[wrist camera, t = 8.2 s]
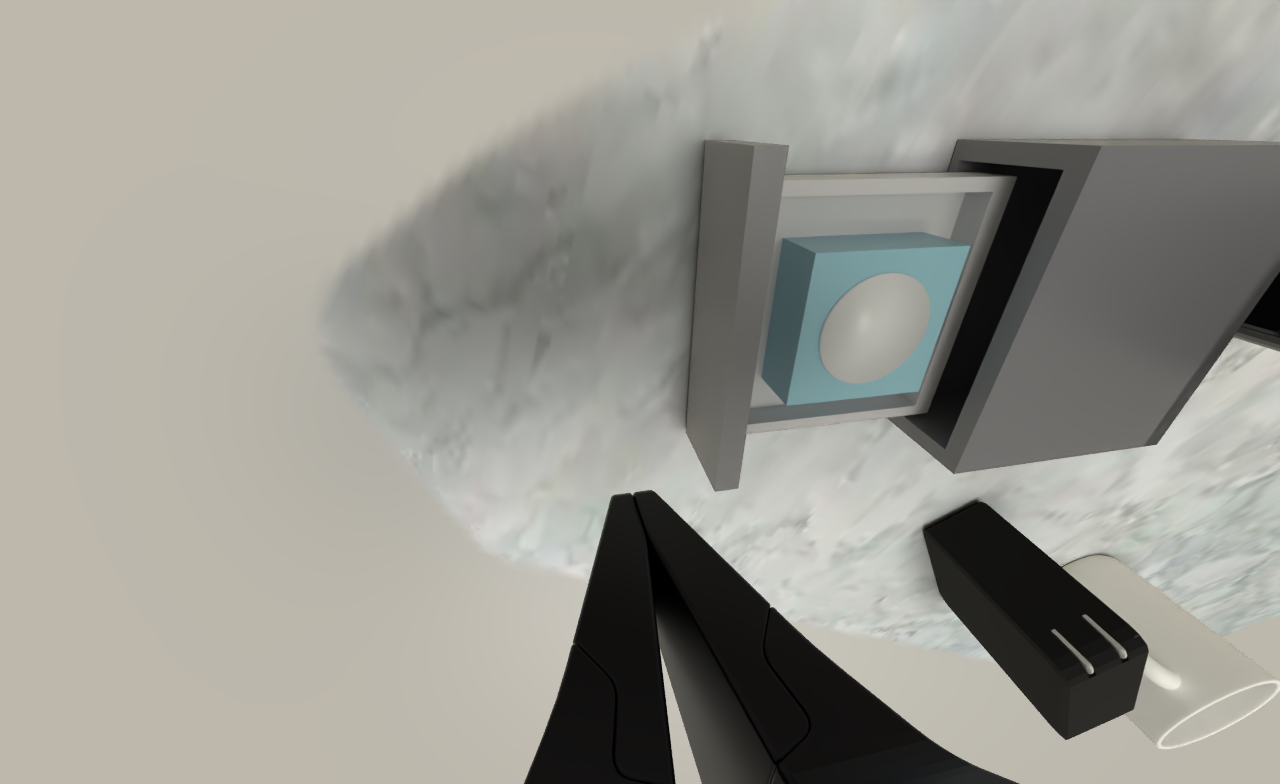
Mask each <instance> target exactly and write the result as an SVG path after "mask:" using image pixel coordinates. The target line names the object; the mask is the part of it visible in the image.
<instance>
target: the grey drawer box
mask: <svg viewBox="0 0 1280 784" xmlns="http://www.w3.org/2000/svg"><path fill="white" fill-rule="evenodd" d="M948 172H984V173H992V174H1001V175H1010V176H1017V179H1016V182H1015V184H1014V187H1013V189H1012V192H1011V195H1010V197H1009V200H1008V203H1007V205H1006V208H1005V210H1004V213H1003V216H1002V218H1001V221H1000V224H999V226H998V229H997V231H996V234H995V237H994V239H993V242H992V245H991V247H990V250H989V252H988V255H987V258H986V260H985V263H984V266H983V268H982V271H981V273H980V276H979V279H978V281H977V284H976V287H975V289H974V292H973V294H972V297H971V300H970V302H969V305H968V308H967V310H966V313H965V315H964V318H963V321H962V323H961V326H960V329H959V331H958V334H957V336H956V339H955V342H954V344H953V347H952V350H951V352H950V355H949V357H948V360H947V363H946V365H945V368H944V370H943V373H942V376H941V378H940V381H939V384H938V386H937V389H936V391H935V394H934V397H933V399H932V402H931V405H930V407H929V410H928V412H927V413H922V414H914V415H905V416H897V417H888V419H889V420H890V421H891V422H893V423H894V424H895V425H896V426H897V427H899V428H900V429H901V430H902V431H903V432H904V433H906V434H907V435H908V436H909V437H910V438H912V439H913V440H914V441H915V442H916V443H918V444H919V445H920V446H921V447H922V448H924V449H925V450H926V451H927V452H928V453H929V454H931V455H932V456H933V457H934V458H935V459H937V460H938V461H939V462H940V463H941V464H943V465H944V466H945V467H946V468H947V469H949V470H950V471H951V472H952V473H953V474H956V473H963V472H970V471H977V470H984V469H991V468H998V467H1005V466H1012V465H1019V464H1025V463H1032V462H1039V461H1046V460H1053V459H1060V458H1067V457H1074V456H1081V455H1088V454H1095V453H1101V452H1108V451H1115V450H1122V449H1129V448H1136V447H1143V446H1150V445H1157V443H1158V442H1159V441H1160V439H1161V438H1162V436H1163V435H1164V434H1165V432H1166V431H1167V429H1168V428H1169V427H1170V425H1171V424H1172V422H1173V421H1174V419H1175V418H1176V417H1177V415H1178V414H1179V412H1180V411H1181V410H1182V408H1183V407H1184V405H1185V404H1186V403H1187V401H1188V400H1189V398H1190V397H1191V396H1192V394H1193V393H1194V391H1195V390H1196V389H1197V387H1198V386H1199V384H1200V383H1201V381H1202V380H1203V379H1204V377H1205V376H1206V374H1207V373H1208V372H1209V370H1210V369H1211V367H1212V366H1213V365H1214V363H1215V362H1216V360H1217V359H1218V358H1219V356H1220V355H1221V353H1222V352H1223V351H1224V349H1225V348H1226V346H1227V345H1228V344H1229V342H1230V341H1231V339H1232V338H1233V336H1234V335H1235V334H1236V332H1237V331H1238V329H1239V328H1240V327H1241V325H1242V324H1243V322H1244V321H1245V320H1246V318H1247V317H1248V315H1249V314H1250V313H1251V311H1252V310H1253V308H1254V307H1255V306H1256V304H1257V303H1258V301H1259V300H1260V298H1261V297H1262V296H1263V294H1264V293H1265V291H1266V290H1267V289H1268V287H1269V286H1270V284H1271V283H1272V282H1273V280H1274V279H1275V277H1276V276H1277V275H1278V273H1279V272H1280V142H1265V141H1228V140H1192V139H977V140H958V141H957V144H956V147H955V151H954V154H953V157H952V160H951V164H950V167H949V170H948Z"/></svg>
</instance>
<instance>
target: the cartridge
mask: <svg viewBox="0 0 1280 784" xmlns="http://www.w3.org/2000/svg"><path fill="white" fill-rule="evenodd" d="M969 249H970V245H967V244H963V243H960V242H956V241H953V240H949V239H946V238H942V237H939V236H935V235H932V234H928V233H925V232H908V233H885V234H861V235H838V236H814V237H791V238H783V241H782V247H781V254H780V260H779V267H778V273H777V279H776V286H775V292H774V299H773V305H772V312H771V318H770V325H769V331H768V337H767V344H766V350H765V357H764V363H763V370H762V376H761V378H762V379H763V380H764V381H765V382H766V384H767V385H768V386H769V387H770V388H771V389H772V390H773V391H774V393H775V394H776V395H777V396H778V397H779V398H780V399H781V400H782V402H783V403H784V404H785V405H786V406H790V405H800V404H809V403H818V402H827V401H836V400H845V399H855V398H864V397H873V396H882V395H891V394H900V393H909V392H919V389H920V386H921V383H922V380H923V378H924V375H925V372H926V369H927V367H928V364H929V361H930V358H931V355H932V353H933V350H934V347H935V344H936V341H937V339H938V336H939V333H940V330H941V327H942V325H943V322H944V319H945V316H946V313H947V311H948V308H949V305H950V302H951V300H952V297H953V294H954V291H955V288H956V286H957V283H958V280H959V277H960V274H961V272H962V269H963V266H964V263H965V260H966V258H967V255H968V252H969Z"/></svg>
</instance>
